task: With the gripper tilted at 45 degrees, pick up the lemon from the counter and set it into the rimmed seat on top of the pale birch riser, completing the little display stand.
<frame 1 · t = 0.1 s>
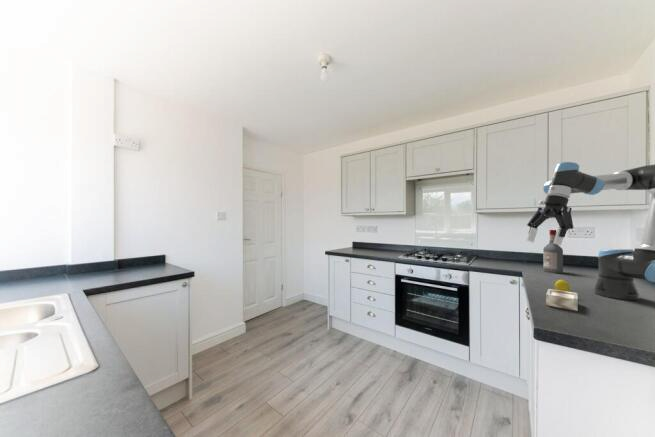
hand: (542, 242, 112), 28 cm above the counter, tool tilted 20°, fingers open, 13 cm apart
display riser: (561, 304, 114), on the counter
liquor: (552, 272, 182), on the counter
lemon: (562, 295, 127), on the counter
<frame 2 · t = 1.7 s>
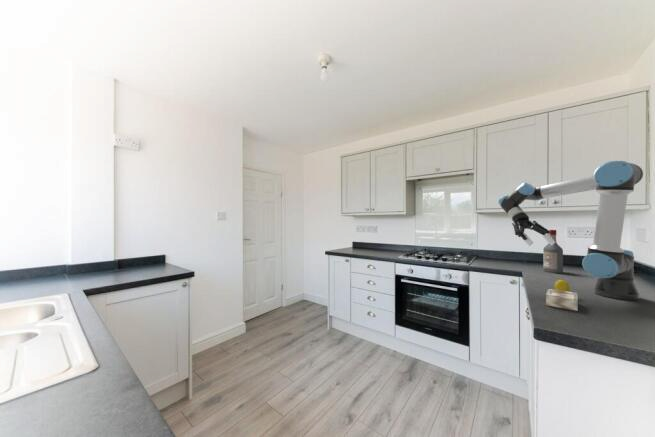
hand: (542, 244, 137), 25 cm above the counter, tool tilted 45°, fingers open, 13 cm apart
nothing on the counter moved.
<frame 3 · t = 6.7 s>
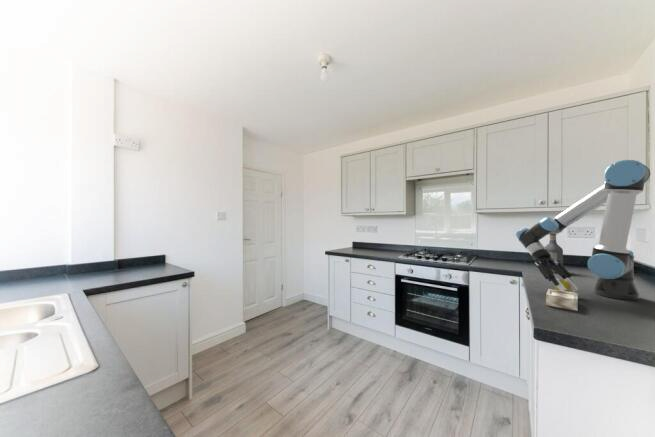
hand: (569, 290, 124), 3 cm above the counter, tool tilted 45°, fingers closed on lemon, 5 cm apart
lemon: (562, 295, 127), on the counter, touching gripper
everything else where it was.
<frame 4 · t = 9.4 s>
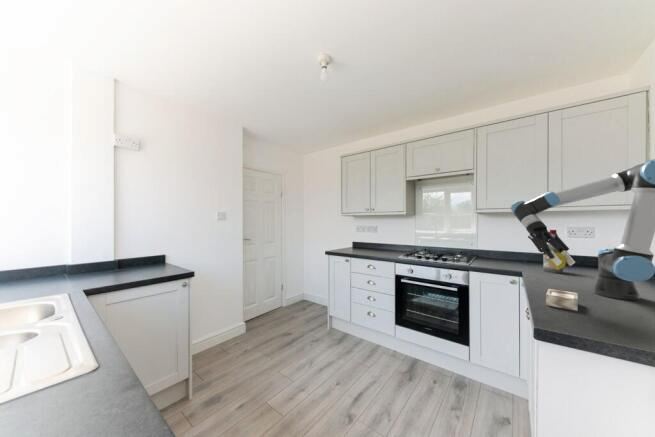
hand: (565, 264, 113), 18 cm above the counter, tool tilted 45°, fingers closed on lemon, 5 cm apart
lemon: (557, 270, 117), point 15 cm above the counter, touching gripper
everything else where it was.
when the fingers open (9 cm above the counter, at t = 12.1 s): lemon drops 1 cm, resting on display riser.
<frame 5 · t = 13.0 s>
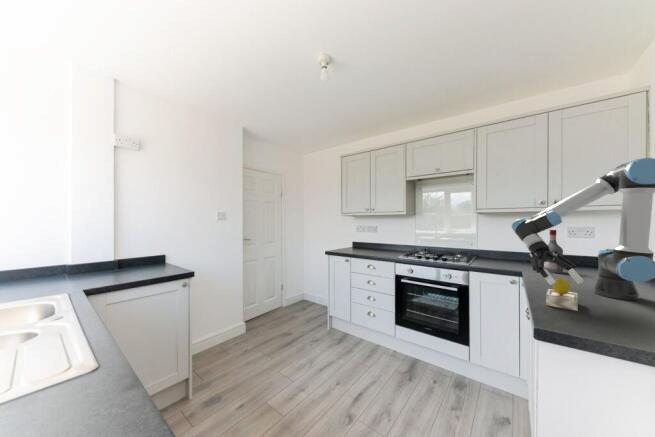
hand: (567, 283, 112), 10 cm above the counter, tool tilted 45°, fingers open, 13 cm apart
lemon: (561, 295, 114), point 4 cm above the counter, touching display riser
everything else where it was.
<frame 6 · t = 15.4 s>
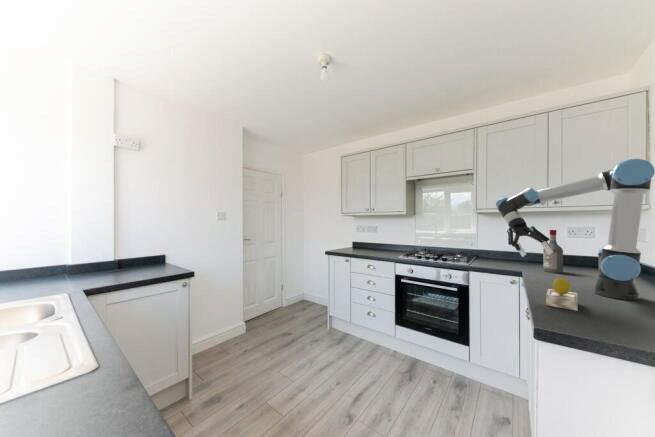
hand: (537, 254, 128), 20 cm above the counter, tool tilted 40°, fingers open, 13 cm apart
nothing on the counter moved.
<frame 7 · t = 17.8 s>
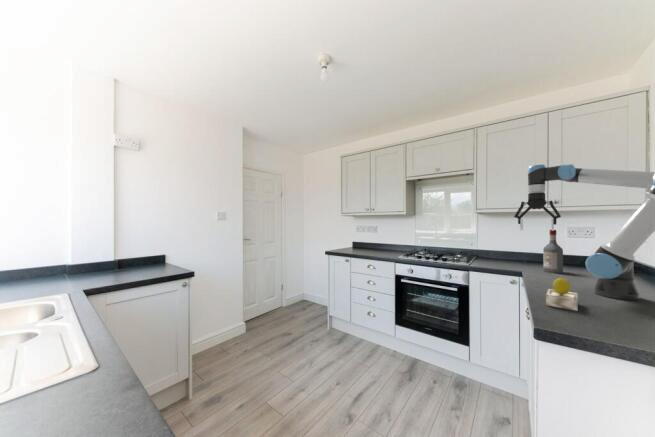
hand: (536, 230, 144), 32 cm above the counter, tool pointing down, fingers open, 13 cm apart
nothing on the counter moved.
at the end: lemon 0.2 cm off-centre on the display riser, point 3.8 cm above the display riser's base; the gripper is holding nothing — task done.
